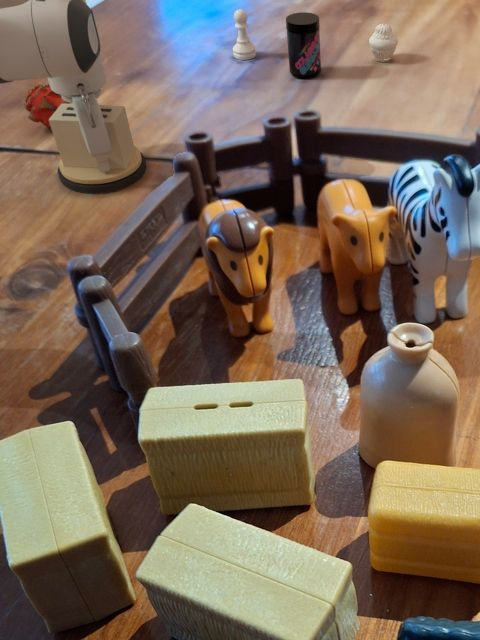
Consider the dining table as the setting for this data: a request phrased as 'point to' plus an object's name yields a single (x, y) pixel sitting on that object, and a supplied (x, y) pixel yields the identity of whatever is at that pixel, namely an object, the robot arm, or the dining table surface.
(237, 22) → the chess pawn
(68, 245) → the dining table surface
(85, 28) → the robot arm
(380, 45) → the muffin
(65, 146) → the toaster
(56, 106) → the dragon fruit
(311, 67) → the supplement container
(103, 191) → the turntable base
